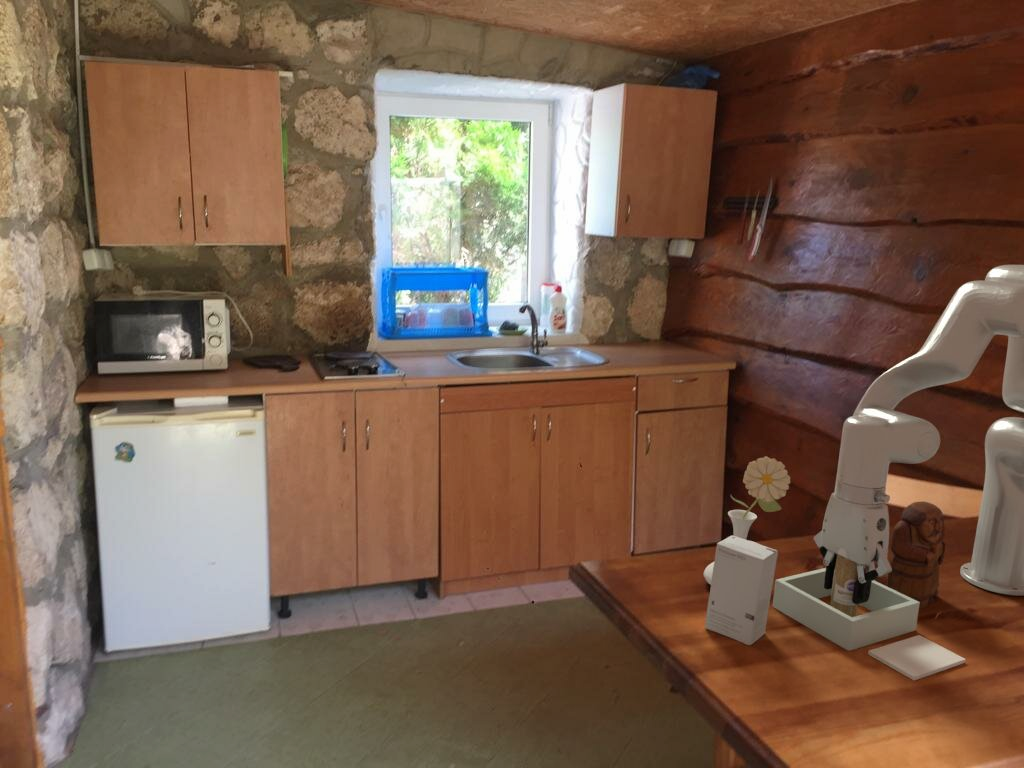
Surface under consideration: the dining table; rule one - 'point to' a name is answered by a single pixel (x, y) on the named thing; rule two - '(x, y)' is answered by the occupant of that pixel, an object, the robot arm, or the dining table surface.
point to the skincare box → (741, 589)
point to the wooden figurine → (917, 552)
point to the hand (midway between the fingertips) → (845, 593)
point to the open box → (883, 623)
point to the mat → (916, 657)
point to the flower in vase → (757, 496)
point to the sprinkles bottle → (844, 584)
